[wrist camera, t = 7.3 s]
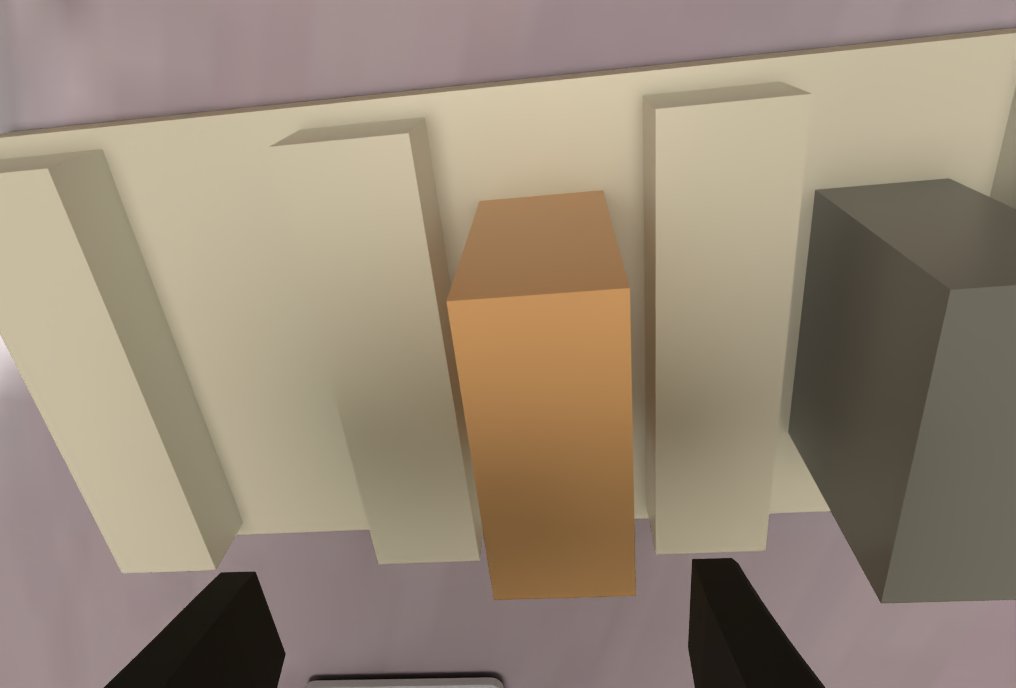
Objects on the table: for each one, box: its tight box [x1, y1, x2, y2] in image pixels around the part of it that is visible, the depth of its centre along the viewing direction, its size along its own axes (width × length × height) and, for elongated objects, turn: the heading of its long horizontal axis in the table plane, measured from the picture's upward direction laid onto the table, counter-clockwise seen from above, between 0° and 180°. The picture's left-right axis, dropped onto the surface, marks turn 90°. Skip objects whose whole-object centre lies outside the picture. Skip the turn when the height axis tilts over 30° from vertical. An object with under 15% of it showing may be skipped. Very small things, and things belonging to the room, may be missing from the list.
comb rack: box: [0, 28, 1016, 573], centre depth 18 cm, size 13×27×3 cm, turn 96°
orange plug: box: [446, 190, 636, 600], centre depth 15 cm, size 7×3×6 cm, turn 6°
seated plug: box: [788, 178, 1016, 603], centre depth 15 cm, size 7×3×6 cm, turn 6°
